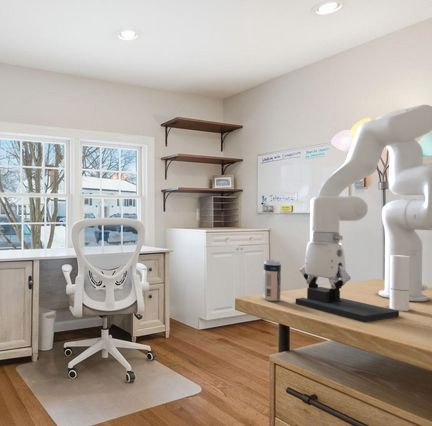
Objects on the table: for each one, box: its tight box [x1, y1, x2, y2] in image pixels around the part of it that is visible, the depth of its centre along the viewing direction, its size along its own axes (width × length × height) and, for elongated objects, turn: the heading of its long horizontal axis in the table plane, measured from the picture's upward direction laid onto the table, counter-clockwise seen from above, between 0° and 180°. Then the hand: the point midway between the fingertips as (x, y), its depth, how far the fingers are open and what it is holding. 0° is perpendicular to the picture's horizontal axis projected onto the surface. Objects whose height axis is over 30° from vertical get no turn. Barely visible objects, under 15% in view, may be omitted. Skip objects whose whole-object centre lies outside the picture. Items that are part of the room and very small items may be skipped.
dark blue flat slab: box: [295, 297, 400, 323], centre depth 105 cm, size 14×20×2 cm
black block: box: [306, 286, 341, 303], centre depth 110 cm, size 6×6×4 cm
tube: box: [389, 255, 410, 312], centre depth 106 cm, size 4×4×15 cm
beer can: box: [262, 259, 282, 302], centre depth 115 cm, size 5×5×12 cm
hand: (323, 299), depth 110 cm, fingers closed on black block, 5 cm apart
